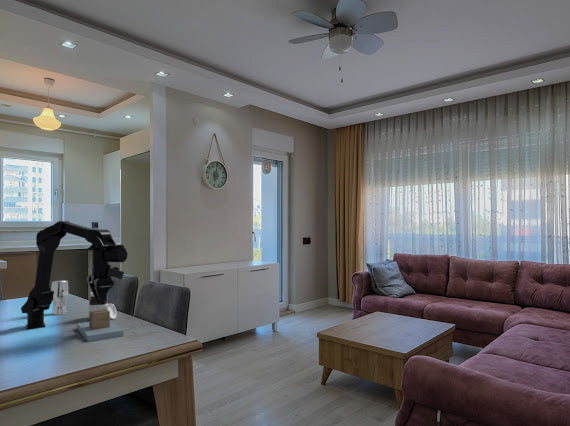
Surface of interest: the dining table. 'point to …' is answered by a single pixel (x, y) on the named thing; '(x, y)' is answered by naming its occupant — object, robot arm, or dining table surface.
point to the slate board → (99, 331)
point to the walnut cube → (99, 319)
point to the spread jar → (101, 306)
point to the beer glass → (59, 297)
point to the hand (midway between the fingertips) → (100, 302)
